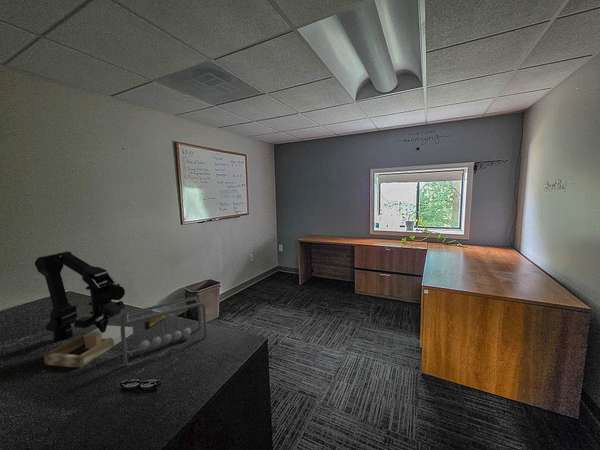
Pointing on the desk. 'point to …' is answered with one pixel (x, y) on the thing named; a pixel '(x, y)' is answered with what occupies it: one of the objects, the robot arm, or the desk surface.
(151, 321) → the shard
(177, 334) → the newton's cradle
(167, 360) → the desk surface
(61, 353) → the box
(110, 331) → the plate
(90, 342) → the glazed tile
